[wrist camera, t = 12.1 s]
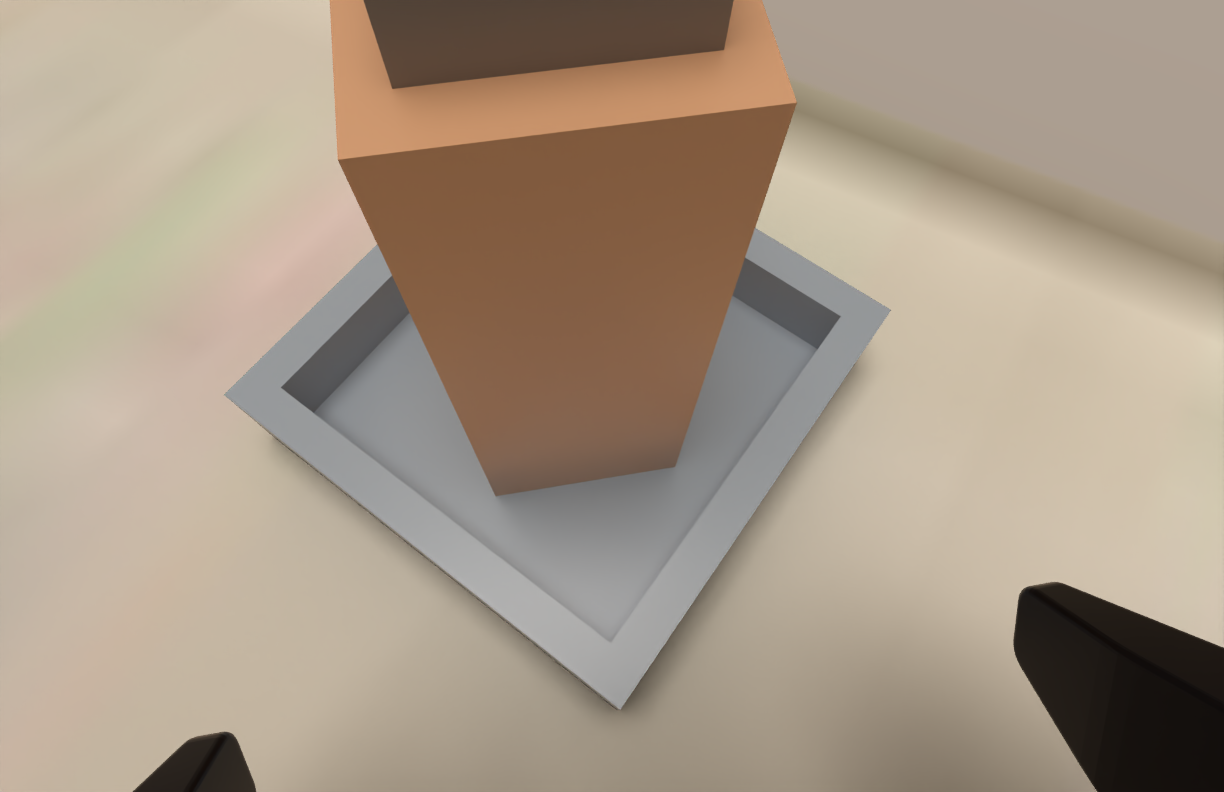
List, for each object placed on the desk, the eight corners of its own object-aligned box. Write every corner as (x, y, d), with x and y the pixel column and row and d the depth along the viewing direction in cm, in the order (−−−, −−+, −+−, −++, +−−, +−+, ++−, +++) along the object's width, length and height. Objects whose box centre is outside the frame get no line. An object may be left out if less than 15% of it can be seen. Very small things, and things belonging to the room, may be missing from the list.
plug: (675, 466, 17) (873, -127, 5) (495, 496, 17) (234, -63, 5) (633, 274, 19) (703, -498, 7) (471, 297, 18) (239, -474, 6)
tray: (616, 709, 16) (620, 709, 13) (271, 435, 18) (224, 395, 16) (854, 358, 19) (891, 310, 17) (538, 160, 21) (531, 93, 19)
